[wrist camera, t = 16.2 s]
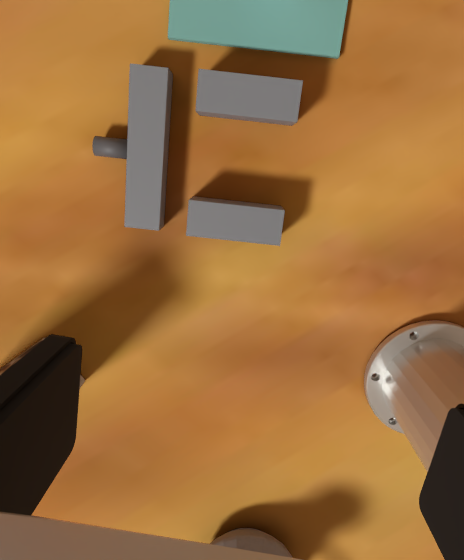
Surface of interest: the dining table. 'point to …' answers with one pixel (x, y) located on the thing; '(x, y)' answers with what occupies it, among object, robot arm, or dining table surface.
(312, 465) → the dining table surface
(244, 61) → the dining table surface
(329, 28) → the mat
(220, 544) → the coffee pot
